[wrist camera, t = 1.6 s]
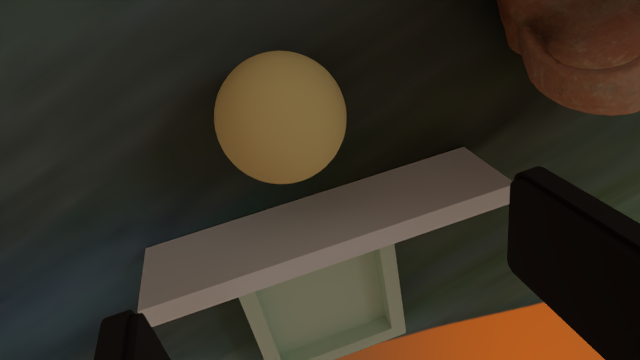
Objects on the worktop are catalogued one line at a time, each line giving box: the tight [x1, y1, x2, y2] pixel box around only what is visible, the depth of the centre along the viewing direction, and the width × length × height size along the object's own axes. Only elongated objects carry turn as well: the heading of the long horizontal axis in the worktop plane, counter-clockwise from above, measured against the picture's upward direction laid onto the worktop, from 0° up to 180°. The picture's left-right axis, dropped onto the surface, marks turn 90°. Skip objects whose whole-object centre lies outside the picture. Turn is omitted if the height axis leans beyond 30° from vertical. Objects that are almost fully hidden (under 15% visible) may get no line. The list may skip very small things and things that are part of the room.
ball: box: [214, 51, 347, 184], centre depth 20 cm, size 6×6×6 cm
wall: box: [137, 147, 512, 327], centre depth 24 cm, size 20×1×5 cm, turn 102°
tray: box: [239, 244, 406, 360], centre depth 29 cm, size 10×10×2 cm
